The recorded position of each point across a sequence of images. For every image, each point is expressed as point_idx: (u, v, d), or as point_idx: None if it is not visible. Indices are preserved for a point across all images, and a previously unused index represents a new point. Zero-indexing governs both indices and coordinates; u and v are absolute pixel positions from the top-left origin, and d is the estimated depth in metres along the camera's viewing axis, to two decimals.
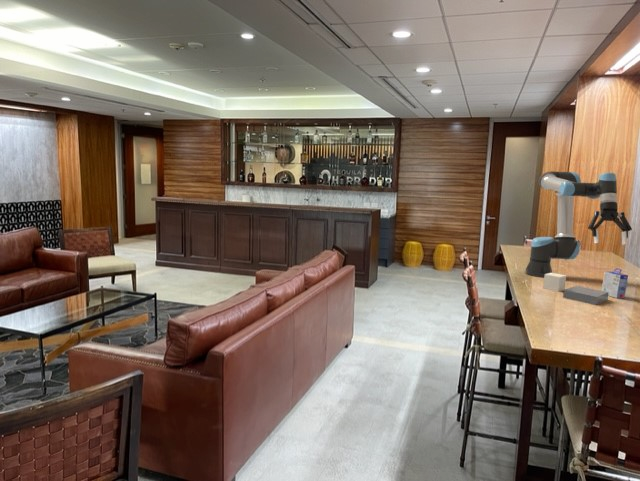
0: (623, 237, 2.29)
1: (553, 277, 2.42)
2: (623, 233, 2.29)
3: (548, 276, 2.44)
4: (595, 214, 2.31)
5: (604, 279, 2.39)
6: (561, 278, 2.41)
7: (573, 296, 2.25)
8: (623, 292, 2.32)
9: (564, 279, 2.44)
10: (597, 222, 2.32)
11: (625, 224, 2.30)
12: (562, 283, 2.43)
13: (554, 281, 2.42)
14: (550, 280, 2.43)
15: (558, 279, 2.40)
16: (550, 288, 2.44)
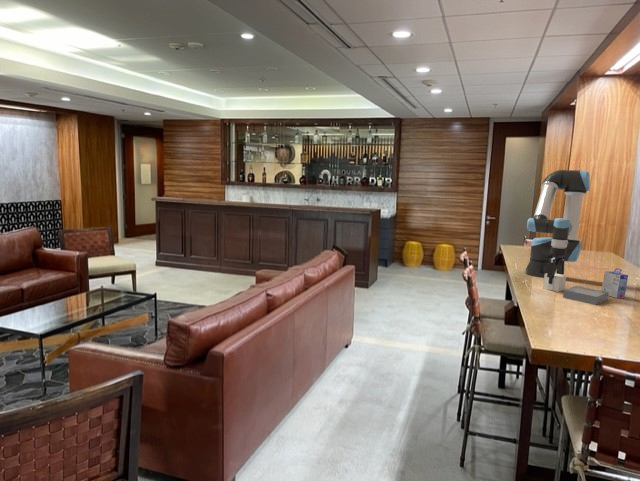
0: None
1: None
2: None
3: None
4: (552, 262, 2.39)
5: (604, 279, 2.39)
6: (561, 277, 2.41)
7: (573, 296, 2.25)
8: (623, 292, 2.32)
9: (564, 279, 2.44)
10: None
11: None
12: (562, 283, 2.43)
13: (554, 281, 2.42)
14: None
15: (558, 279, 2.40)
16: None
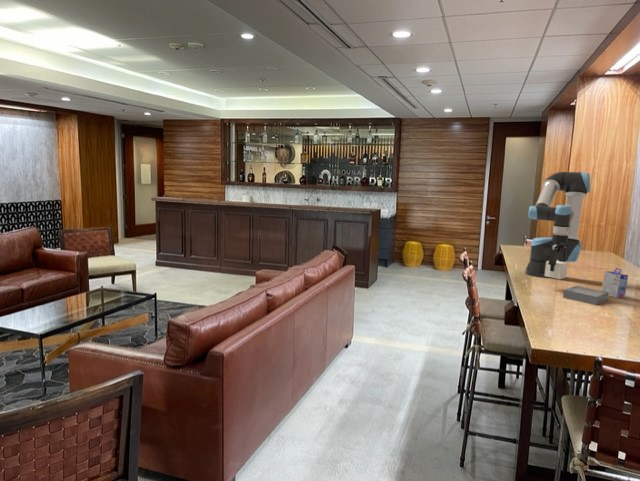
0: None
1: (555, 264, 2.41)
2: None
3: None
4: (554, 249, 2.38)
5: (604, 279, 2.39)
6: (563, 265, 2.40)
7: (573, 296, 2.25)
8: (623, 292, 2.32)
9: (566, 266, 2.43)
10: None
11: None
12: (564, 270, 2.42)
13: (556, 268, 2.41)
14: None
15: (559, 266, 2.39)
16: None
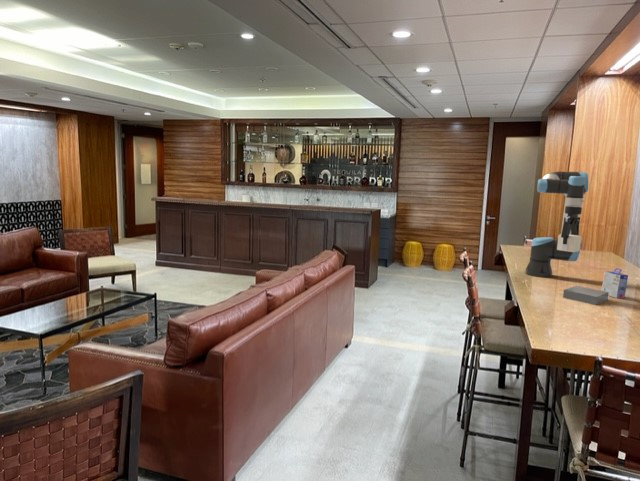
0: None
1: None
2: None
3: None
4: (567, 221, 2.30)
5: (604, 279, 2.39)
6: (576, 237, 2.32)
7: (573, 296, 2.25)
8: (623, 292, 2.32)
9: (579, 239, 2.35)
10: None
11: None
12: (577, 243, 2.33)
13: (569, 241, 2.33)
14: None
15: (572, 239, 2.31)
16: None
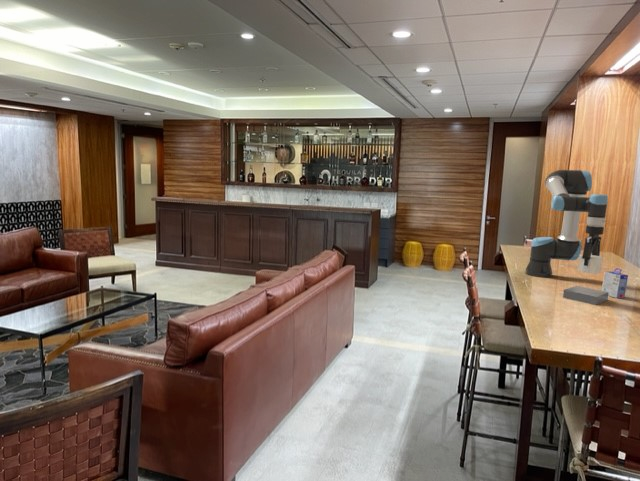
0: None
1: None
2: None
3: None
4: (588, 242, 2.20)
5: (604, 279, 2.39)
6: (598, 259, 2.21)
7: (573, 296, 2.25)
8: (623, 292, 2.32)
9: (601, 260, 2.24)
10: None
11: None
12: (599, 265, 2.23)
13: (590, 262, 2.22)
14: None
15: (594, 260, 2.21)
16: None
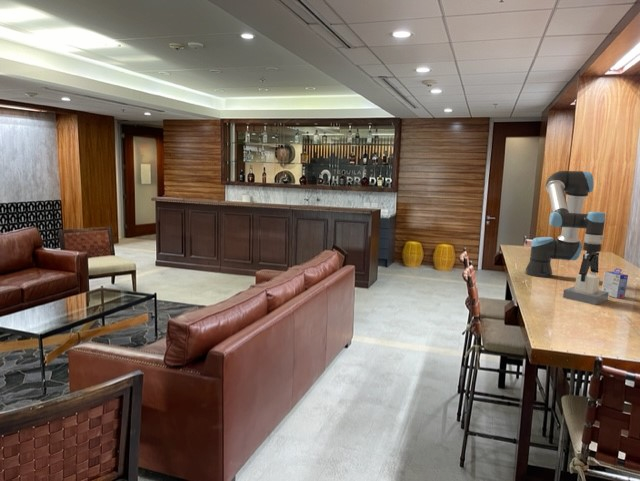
0: None
1: None
2: (593, 274, 2.30)
3: (580, 277, 2.26)
4: (586, 258, 2.21)
5: (604, 279, 2.39)
6: (595, 278, 2.23)
7: (573, 296, 2.25)
8: (623, 292, 2.32)
9: (598, 280, 2.26)
10: None
11: None
12: (596, 284, 2.25)
13: (587, 282, 2.24)
14: None
15: (591, 280, 2.22)
16: (583, 290, 2.25)
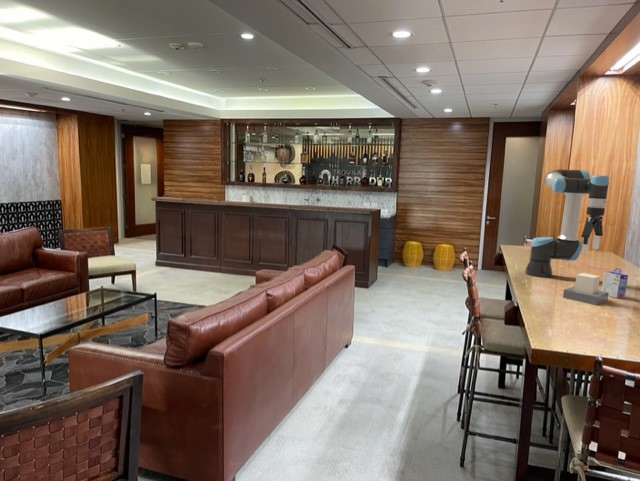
0: (596, 241, 2.30)
1: (586, 278, 2.24)
2: (597, 237, 2.29)
3: (580, 277, 2.26)
4: (589, 221, 2.19)
5: (604, 279, 2.39)
6: (595, 278, 2.23)
7: (573, 296, 2.25)
8: (623, 292, 2.32)
9: (598, 280, 2.26)
10: None
11: None
12: (596, 284, 2.25)
13: (587, 282, 2.24)
14: (583, 281, 2.25)
15: (591, 280, 2.22)
16: (583, 290, 2.25)
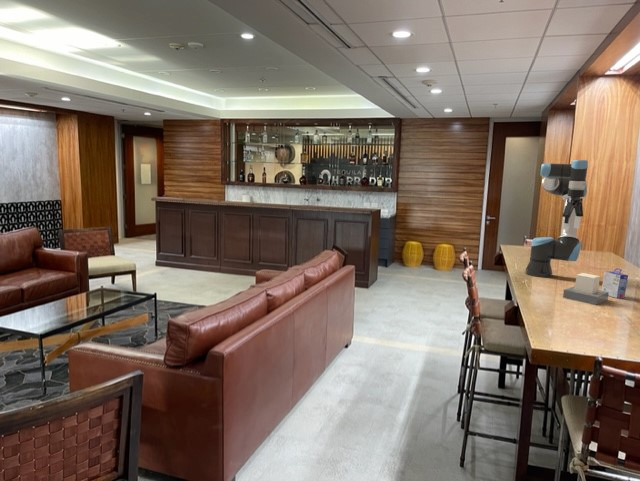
0: (577, 221, 2.48)
1: (586, 278, 2.24)
2: (578, 218, 2.48)
3: (580, 277, 2.26)
4: (570, 201, 2.38)
5: (604, 279, 2.39)
6: (595, 278, 2.23)
7: (573, 296, 2.25)
8: (623, 292, 2.32)
9: (598, 280, 2.26)
10: None
11: None
12: (596, 284, 2.25)
13: (587, 282, 2.24)
14: (583, 281, 2.25)
15: (591, 280, 2.22)
16: (583, 290, 2.25)
